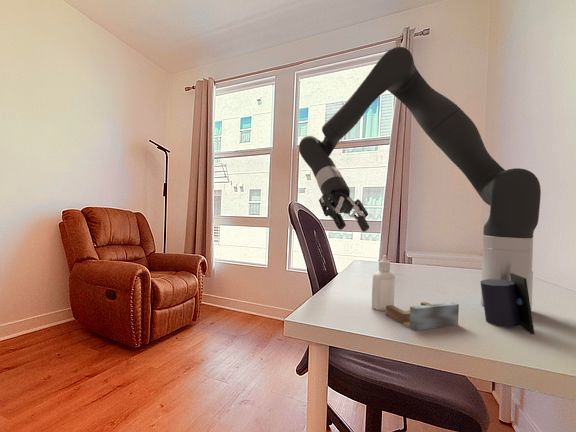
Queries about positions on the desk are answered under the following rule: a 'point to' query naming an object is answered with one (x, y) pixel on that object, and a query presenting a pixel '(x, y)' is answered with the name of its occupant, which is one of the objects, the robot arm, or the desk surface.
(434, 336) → the desk surface
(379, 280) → the eye dropper bottle
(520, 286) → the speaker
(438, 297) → the desk surface
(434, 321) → the grey brown angular piece
